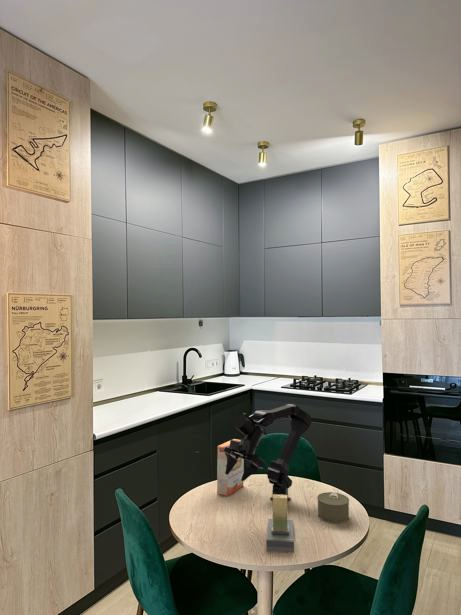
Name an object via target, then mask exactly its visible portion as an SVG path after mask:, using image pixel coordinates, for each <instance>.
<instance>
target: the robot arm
mask: <svg viewBox="0 0 461 615" xmlns="http://www.w3.org/2000/svg"><path fill="white" fill-rule="evenodd" d="M287 417H288V418H289V419H290V420H291V421H290V431H289V434H288V435H287V437H286V441H285V442H284V444H283V447H282V449H281V452H280V453H279V455H278V458H277V459H276V460H271V461H270V463H269V465H268V468H267V472H266V477H267V479H268V483H269V484H271V485H272V492H271V494H272V496H270V498H269V499H270V500H271V501H273V494H279V495H287V502H288V501H291V499H292V498H291V497H289V489H290V488H291V487H292V485H293V480H292V478H291V477H289V475H290V467H289V465H290V462H291V459H292V457H293V455H294V453H295V450H296V449H297V446H298V443H299V441H300V439H301V438H302V436H303V434H304V433H306V432H308V431H309V429H310V426H311V424H312V420H313V419H312V417H311V415H310V414H308V413H307V412H306V411H305V410H302V409H301V408H300V407H299V405H296V404H292V403H288V404H286V405H283V406H282V405H281V406H280V407H276V408H273V409H270V410H269V409H268V410H266V409H262V410H261V409H260V410H259V409H257V410H255V411H253V414H251V415H248V414H247V413H245V412H242V413H241V415H239V416H237V417H236V418H235V420H234V421H233V427H234V428H235V429H236V430H238V431H239V432H240V433H242V434H243V435H244V438H241V439H240V440H241V441H236V440H233V439H230V440H231V441H230V440H229V441H230V445H229V446H226V447H225V449H224V452H225V455H226V457H227V465H226V472H225V474H227V475H228V474H229V473H230V471H231V470H232V468H233V467H234V466H235V464H236V463H237V461H238V460H236V459H238V458H242V459H244V460H245V461H246V467H245V468H244V473H243V476H242V479H241V481H243V482H245V480H247V479H248V478H249V477H251V476H252V475H253V474H254V473H257V471H258V470H259V471H260V470H261V469H262V470H263V469H264V467H265V465H266V462H265V460H264V459H262V458H261V457H260V456H259V455H257V454H255V451H256V450H259V448H260V447H259V446H258V445H259V443H260V440H261V439H262V437H263V436H264V437H265V436H267V431H266V428H268V427H269V426H272V425H273V424H274V423H275V422H276V421H277V420H280V419H283V418H287ZM238 451H239V452H238Z"/></svg>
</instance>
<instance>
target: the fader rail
mask: <svg viewBox="0 0 461 615" xmlns="http://www.w3.org/2000/svg"><path fill="white" fill-rule="evenodd" d="M293 523H294V522H293V519H287V525H289V535H284V534H272V524H273V518H268V519H267V531H266V532H267V533H266V539H265V541H266V542H265V543H266V545H265V546H266V552H274V553H275V552H278V553H290V554H291V553H295V539H294V524H293Z"/></svg>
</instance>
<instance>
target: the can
mask: <svg viewBox="0 0 461 615" xmlns="http://www.w3.org/2000/svg"><path fill="white" fill-rule="evenodd" d="M316 498H317V516H318V518H319V519H320V520H322V521H324V522H326V523H332V524H342V523H345V522H347V521H349V518H350V517H349V516H350V515H349V514H350V511H349V509H350V508H349V507H350V506H349V505H350V498H349V497H348V496H346V495H345V494H342V493H339V492H330V491H329V492H328V491H327V492H322V493H319V494H318V495H317V497H316Z"/></svg>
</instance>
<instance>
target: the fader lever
mask: <svg viewBox="0 0 461 615" xmlns="http://www.w3.org/2000/svg"><path fill="white" fill-rule="evenodd" d="M272 519H273V524H272V534H284V535H289V525H287V520H288V501H287V495H279V494H273V500H272Z"/></svg>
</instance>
